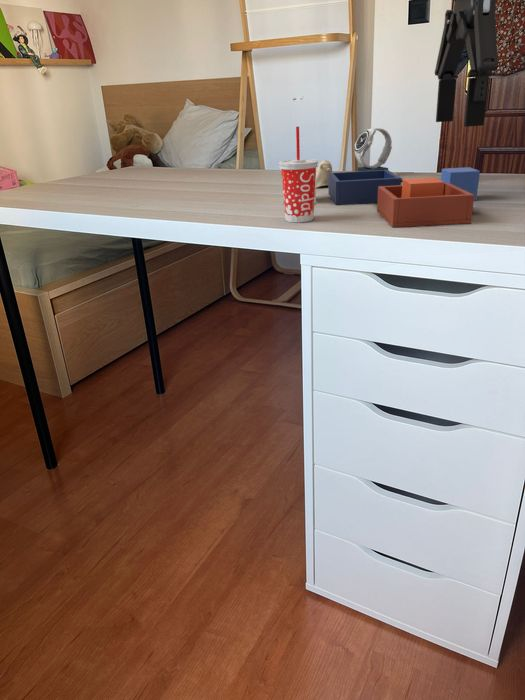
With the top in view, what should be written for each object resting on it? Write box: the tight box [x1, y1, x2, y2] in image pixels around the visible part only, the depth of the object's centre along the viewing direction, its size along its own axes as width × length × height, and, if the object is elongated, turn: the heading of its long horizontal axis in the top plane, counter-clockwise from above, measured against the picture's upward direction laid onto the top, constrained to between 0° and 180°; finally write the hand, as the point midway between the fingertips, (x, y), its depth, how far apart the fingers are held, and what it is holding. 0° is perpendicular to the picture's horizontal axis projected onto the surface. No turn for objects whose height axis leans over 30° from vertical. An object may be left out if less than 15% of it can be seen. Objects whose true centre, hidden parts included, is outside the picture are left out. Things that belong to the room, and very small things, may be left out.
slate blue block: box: [440, 166, 481, 202], centre depth 93 cm, size 5×5×5 cm
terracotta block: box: [401, 176, 444, 198], centre depth 82 cm, size 5×5×5 cm
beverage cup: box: [278, 126, 319, 223], centre depth 83 cm, size 6×6×14 cm
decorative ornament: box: [316, 159, 333, 189], centre depth 113 cm, size 4×8×5 cm, turn 175°
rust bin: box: [376, 183, 475, 228], centre depth 82 cm, size 12×12×4 cm
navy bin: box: [327, 169, 402, 206], centre depth 99 cm, size 12×12×4 cm
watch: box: [353, 127, 393, 171], centre depth 113 cm, size 6×8×11 cm
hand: (457, 123), depth 85 cm, fingers open, 13 cm apart
